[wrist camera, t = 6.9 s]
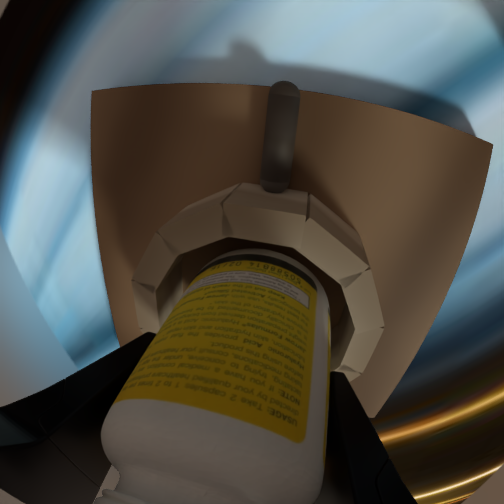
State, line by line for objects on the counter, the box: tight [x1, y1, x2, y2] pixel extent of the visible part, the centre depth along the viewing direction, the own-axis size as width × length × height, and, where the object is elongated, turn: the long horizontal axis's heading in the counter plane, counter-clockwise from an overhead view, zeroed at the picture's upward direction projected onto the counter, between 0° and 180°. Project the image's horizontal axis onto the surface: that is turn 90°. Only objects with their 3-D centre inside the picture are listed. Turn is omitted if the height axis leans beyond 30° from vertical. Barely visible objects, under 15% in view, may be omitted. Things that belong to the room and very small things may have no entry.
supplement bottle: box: [94, 248, 331, 504], centre depth 7 cm, size 5×5×10 cm
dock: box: [91, 81, 493, 418], centre depth 12 cm, size 16×16×4 cm
